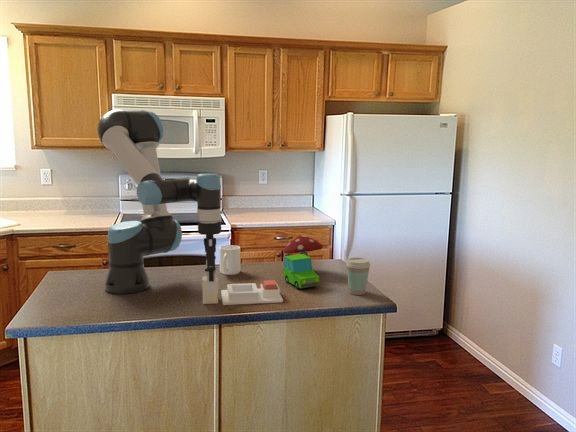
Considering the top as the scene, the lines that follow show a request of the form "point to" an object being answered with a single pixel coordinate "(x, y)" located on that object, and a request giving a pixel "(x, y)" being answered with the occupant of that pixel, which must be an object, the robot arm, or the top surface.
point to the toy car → (300, 271)
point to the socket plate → (249, 294)
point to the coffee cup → (357, 275)
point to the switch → (269, 284)
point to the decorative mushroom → (302, 245)
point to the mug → (229, 259)
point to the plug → (209, 292)
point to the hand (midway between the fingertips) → (210, 284)
